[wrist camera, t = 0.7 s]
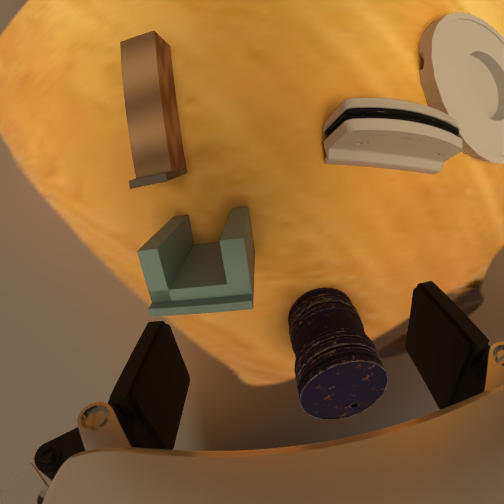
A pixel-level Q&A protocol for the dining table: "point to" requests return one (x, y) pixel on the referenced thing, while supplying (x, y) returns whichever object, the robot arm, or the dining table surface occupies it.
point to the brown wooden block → (151, 110)
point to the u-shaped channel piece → (200, 268)
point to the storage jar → (333, 356)
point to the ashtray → (467, 80)
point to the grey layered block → (390, 135)
